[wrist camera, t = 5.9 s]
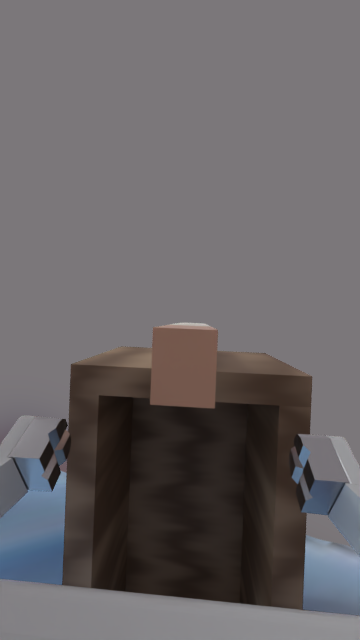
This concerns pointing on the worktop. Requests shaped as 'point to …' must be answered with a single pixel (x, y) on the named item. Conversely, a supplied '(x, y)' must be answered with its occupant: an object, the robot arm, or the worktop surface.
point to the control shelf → (186, 482)
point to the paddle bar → (184, 365)
